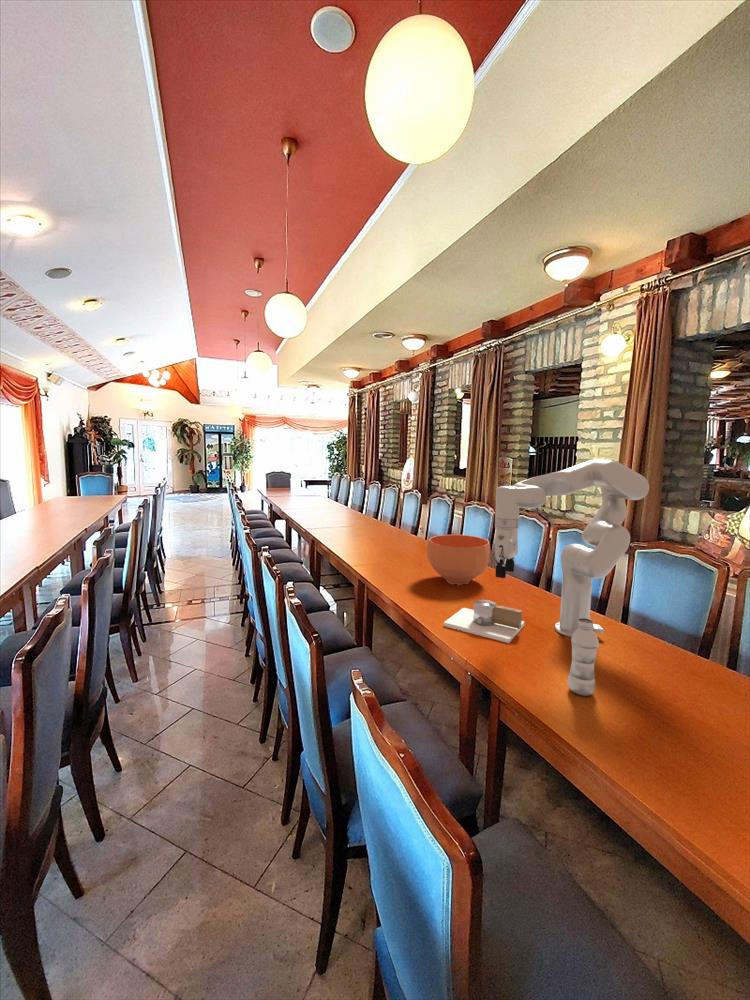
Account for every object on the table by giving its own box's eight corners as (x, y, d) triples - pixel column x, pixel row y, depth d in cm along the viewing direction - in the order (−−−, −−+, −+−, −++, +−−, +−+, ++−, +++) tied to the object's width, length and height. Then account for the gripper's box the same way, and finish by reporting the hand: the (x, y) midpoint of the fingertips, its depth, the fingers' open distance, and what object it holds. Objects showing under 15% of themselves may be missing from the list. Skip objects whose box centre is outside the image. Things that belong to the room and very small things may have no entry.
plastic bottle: (570, 682, 120) (575, 613, 118) (597, 691, 116) (602, 620, 114) (564, 692, 115) (568, 621, 113) (591, 702, 111) (596, 628, 109)
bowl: (423, 588, 200) (424, 545, 198) (430, 570, 229) (431, 533, 227) (489, 594, 193) (491, 549, 191) (488, 575, 222) (490, 536, 220)
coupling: (468, 623, 156) (469, 605, 156) (479, 614, 165) (479, 597, 164) (515, 634, 147) (516, 615, 146) (524, 624, 155) (525, 606, 154)
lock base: (524, 625, 159) (524, 621, 159) (509, 643, 144) (509, 638, 144) (463, 611, 173) (463, 607, 172) (443, 626, 158) (443, 621, 158)
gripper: (509, 528, 134) (507, 582, 136) (525, 520, 148) (523, 570, 150) (486, 525, 138) (484, 578, 140) (504, 518, 152) (502, 566, 154)
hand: (504, 574), depth 145 cm, fingers open, 8 cm apart
